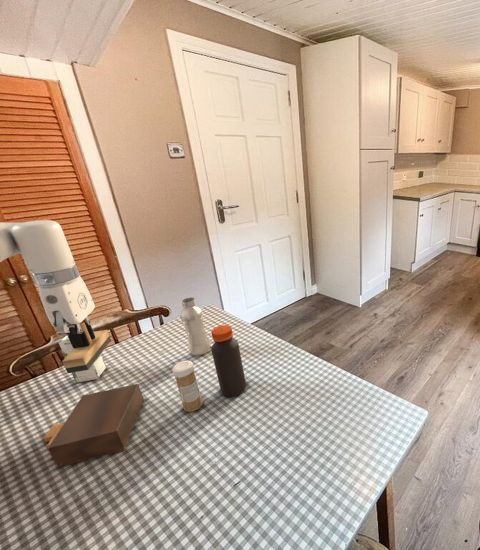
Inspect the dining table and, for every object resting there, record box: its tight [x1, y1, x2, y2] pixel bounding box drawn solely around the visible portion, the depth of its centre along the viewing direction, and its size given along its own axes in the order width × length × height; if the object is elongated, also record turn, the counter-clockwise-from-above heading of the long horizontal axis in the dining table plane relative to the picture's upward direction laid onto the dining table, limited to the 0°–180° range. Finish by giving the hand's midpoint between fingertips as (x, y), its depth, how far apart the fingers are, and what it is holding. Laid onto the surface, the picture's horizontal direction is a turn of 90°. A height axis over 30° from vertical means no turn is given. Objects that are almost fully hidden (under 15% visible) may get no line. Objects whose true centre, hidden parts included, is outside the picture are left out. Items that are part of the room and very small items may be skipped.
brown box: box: [47, 383, 145, 469], centre depth 73 cm, size 13×16×6 cm
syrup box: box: [58, 335, 107, 384], centre depth 90 cm, size 6×6×14 cm
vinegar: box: [210, 324, 247, 398], centre depth 84 cm, size 7×7×20 cm
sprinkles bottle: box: [171, 360, 204, 413], centre depth 79 cm, size 5×5×14 cm
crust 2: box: [46, 431, 59, 449], centre depth 69 cm, size 4×4×1 cm
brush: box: [61, 321, 112, 374], centre depth 76 cm, size 13×4×10 cm, turn 19°
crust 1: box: [43, 422, 65, 443], centre depth 73 cm, size 4×4×1 cm
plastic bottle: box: [179, 297, 211, 356], centre depth 100 cm, size 6×7×20 cm
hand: (84, 342), depth 76 cm, fingers closed on brush, 2 cm apart
